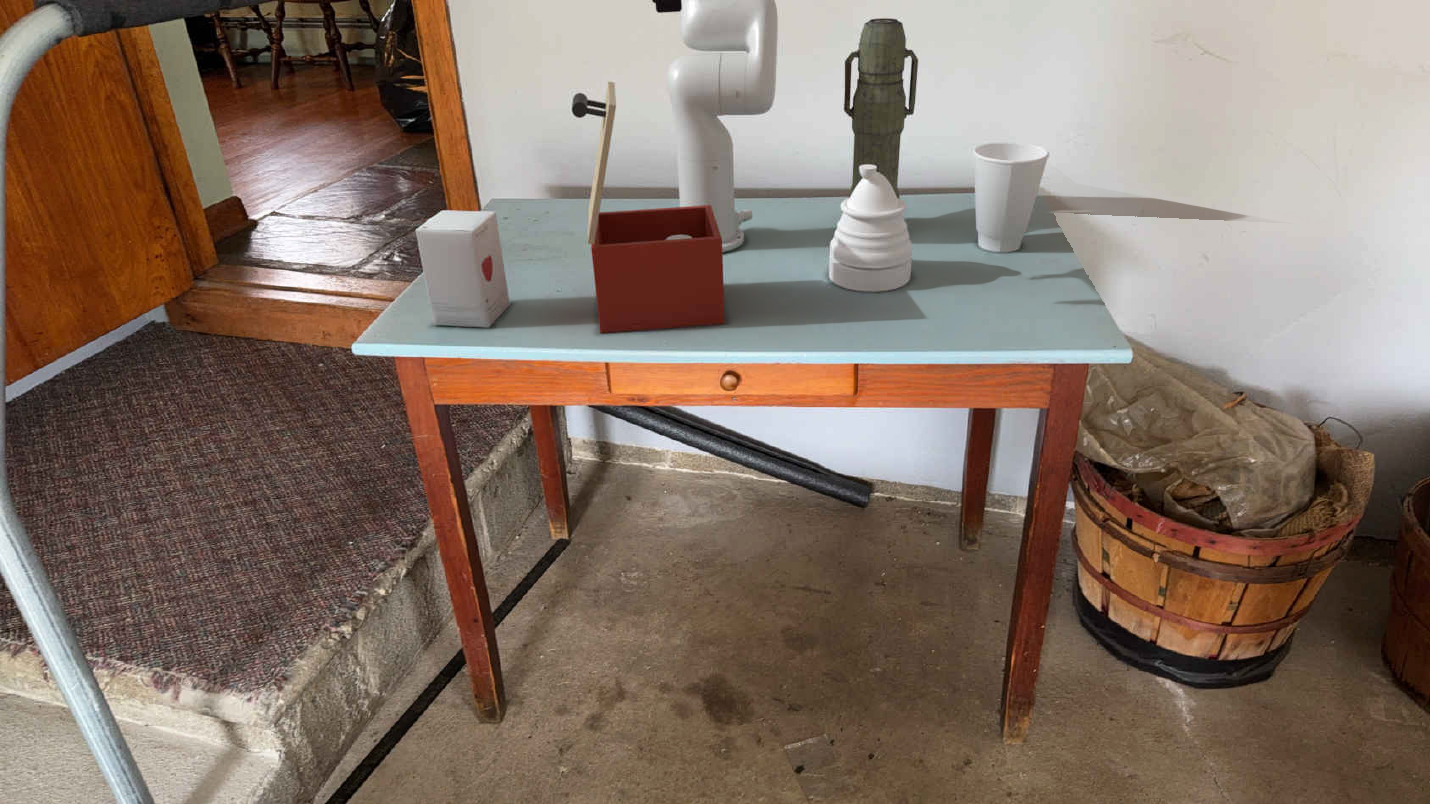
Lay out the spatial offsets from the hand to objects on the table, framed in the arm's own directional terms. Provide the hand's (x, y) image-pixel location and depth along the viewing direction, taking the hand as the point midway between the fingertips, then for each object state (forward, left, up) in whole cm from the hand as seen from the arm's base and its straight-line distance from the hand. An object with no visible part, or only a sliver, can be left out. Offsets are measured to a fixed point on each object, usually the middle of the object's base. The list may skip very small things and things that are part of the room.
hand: (666, 6), depth 119 cm
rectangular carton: (+23, -22, -42) cm, 53 cm away
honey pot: (-27, +15, -42) cm, 52 cm away
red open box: (+3, -2, -42) cm, 42 cm away
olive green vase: (-46, +2, -42) cm, 62 cm away
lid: (+8, -6, -20) cm, 22 cm away
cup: (-52, +24, -42) cm, 71 cm away
